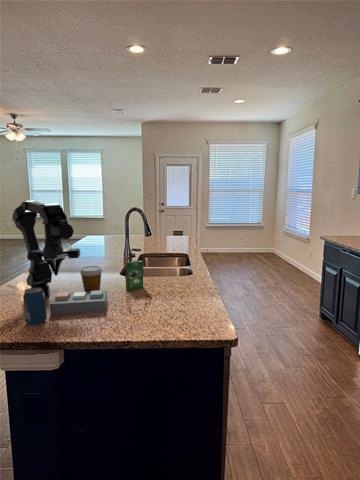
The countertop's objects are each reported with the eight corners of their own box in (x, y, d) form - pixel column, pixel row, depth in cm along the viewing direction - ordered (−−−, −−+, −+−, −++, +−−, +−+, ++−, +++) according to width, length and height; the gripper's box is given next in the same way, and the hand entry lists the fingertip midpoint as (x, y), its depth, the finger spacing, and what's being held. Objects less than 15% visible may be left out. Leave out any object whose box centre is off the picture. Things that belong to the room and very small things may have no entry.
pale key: (73, 306, 122) (72, 296, 122) (75, 301, 127) (74, 292, 126) (85, 305, 123) (84, 295, 122) (86, 301, 127) (86, 291, 127)
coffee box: (141, 286, 151) (141, 259, 149) (144, 287, 149) (143, 261, 147) (125, 289, 147) (125, 261, 145) (128, 290, 145) (127, 263, 143)
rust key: (56, 306, 121) (55, 296, 121) (58, 302, 126) (57, 292, 125) (67, 305, 122) (67, 295, 121) (69, 301, 126) (69, 292, 126)
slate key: (90, 304, 123) (90, 294, 123) (91, 300, 128) (91, 290, 127) (102, 303, 124) (101, 294, 123) (103, 299, 128) (102, 290, 128)
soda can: (49, 317, 116) (47, 286, 114) (42, 326, 109) (39, 293, 107) (30, 318, 116) (28, 286, 114) (22, 326, 109) (18, 293, 107)
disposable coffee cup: (80, 299, 135) (79, 272, 132) (81, 291, 144) (80, 266, 141) (103, 297, 137) (102, 270, 135) (103, 290, 146) (101, 265, 144)
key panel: (50, 315, 118) (49, 304, 117) (57, 303, 130) (56, 293, 129) (105, 311, 121) (104, 300, 120) (107, 300, 133) (106, 290, 132)
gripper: (20, 240, 112) (24, 282, 115) (74, 239, 115) (77, 280, 118) (30, 235, 123) (33, 274, 126) (79, 234, 126) (81, 272, 129)
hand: (56, 275), depth 124 cm, fingers closed
